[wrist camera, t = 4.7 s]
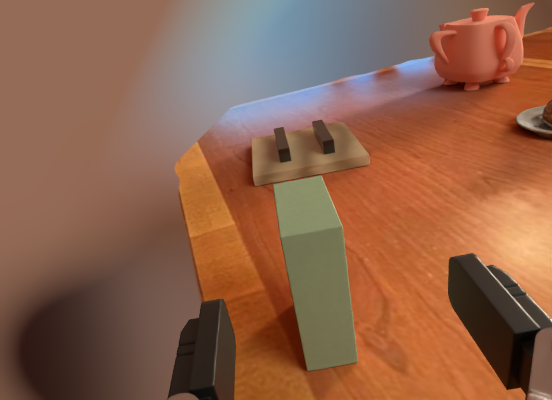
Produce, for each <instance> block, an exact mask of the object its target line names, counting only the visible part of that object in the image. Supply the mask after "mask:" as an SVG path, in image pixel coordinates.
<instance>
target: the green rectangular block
mask: <svg viewBox="0 0 552 400" xmlns="http://www.w3.org/2000/svg"><path fill="white" fill-rule="evenodd" d="M273 190H274V197H275V204H276V211H277V219H278V226H279V233H280V239H281V244H282V249H283V254H284V259H285V264H286V269H287V274H288V279H289V284H290V289H291V294H292V299H293V304H294V309H295V314H296V318H297V323H298V328H299V333H300V338H301V343H302V348H303V353H304V358H305V363H306V368H307V371H313V370H318V369H324V368H330V367H335V366H341V365H347V364H352V363H357V362H358V357H357V349H356V340H355V331H354V322H353V314H352V305H351V296H350V287H349V279H348V270H347V261H346V252H345V243H344V235H343V226H342V224H341V221H340V219H339V217H338V214H337V212H336V209H335V207H334V205H333V202H332V200H331V197H330V195H329V193H328V190H327V188H326V185H325V183H324V181H323V178H322V176H316V177H311V178H305V179H300V180H295V181H289V182H284V183H279V184H274V185H273Z"/></svg>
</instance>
